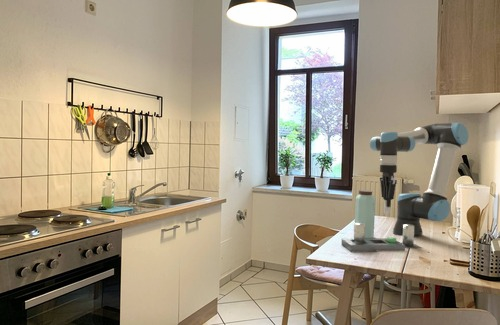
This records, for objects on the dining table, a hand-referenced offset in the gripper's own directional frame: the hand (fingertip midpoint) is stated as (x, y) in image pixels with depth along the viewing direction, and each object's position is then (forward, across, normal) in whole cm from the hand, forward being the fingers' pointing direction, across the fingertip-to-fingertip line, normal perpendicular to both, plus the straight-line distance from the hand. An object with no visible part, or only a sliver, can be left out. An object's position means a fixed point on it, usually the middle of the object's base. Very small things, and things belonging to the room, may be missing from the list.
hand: (387, 213), depth 175 cm
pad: (+17, -1, +11) cm, 20 cm away
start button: (+14, +2, +2) cm, 14 cm away
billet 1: (+15, +2, -14) cm, 21 cm away
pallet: (+16, +2, -8) cm, 18 cm away
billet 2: (+16, -1, +11) cm, 20 cm away
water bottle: (+17, -17, -4) cm, 25 cm away
